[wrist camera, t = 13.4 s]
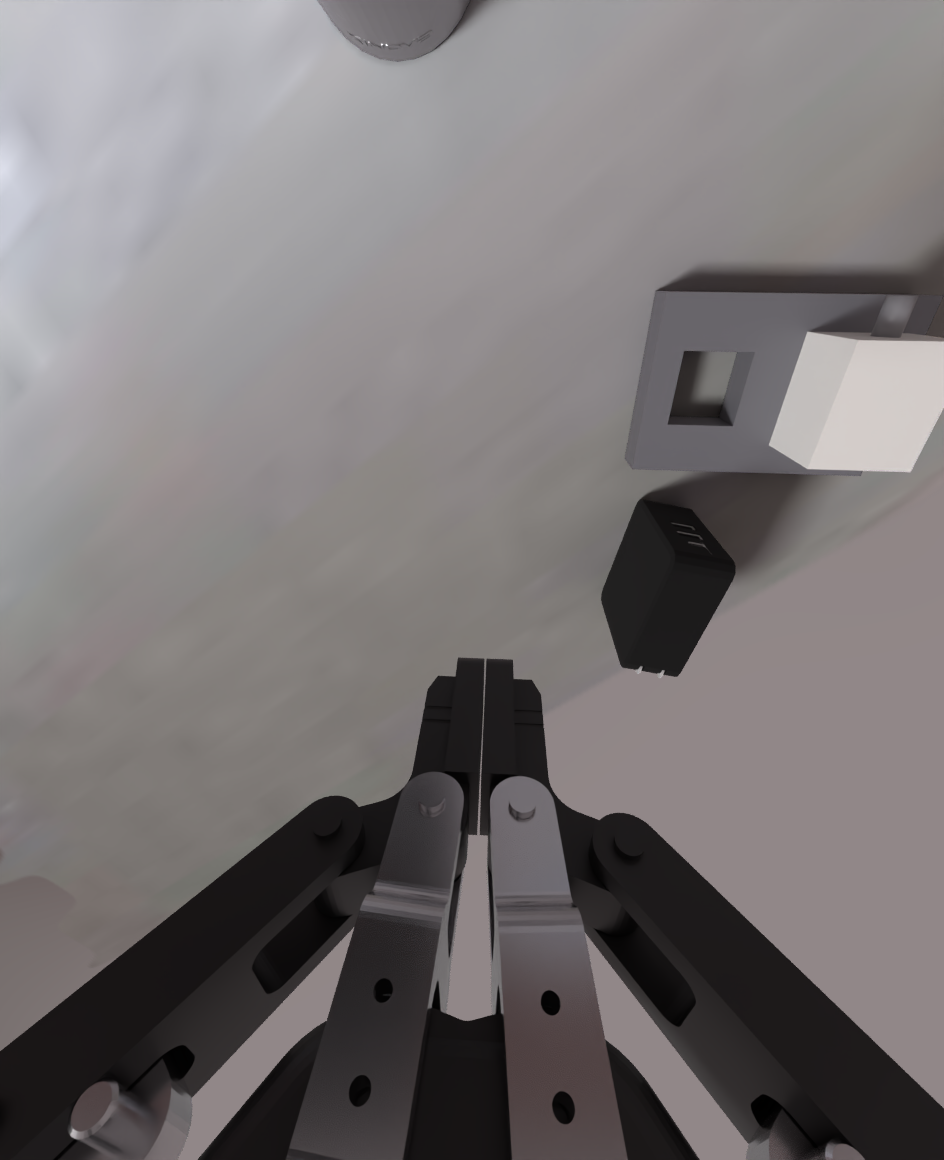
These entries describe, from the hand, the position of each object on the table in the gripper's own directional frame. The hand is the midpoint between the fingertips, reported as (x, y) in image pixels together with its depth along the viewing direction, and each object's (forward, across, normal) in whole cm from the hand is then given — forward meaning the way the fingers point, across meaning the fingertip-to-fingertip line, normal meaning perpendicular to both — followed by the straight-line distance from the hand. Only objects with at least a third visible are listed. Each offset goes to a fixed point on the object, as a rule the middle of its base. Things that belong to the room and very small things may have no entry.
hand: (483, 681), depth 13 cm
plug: (+26, -22, -3) cm, 34 cm away
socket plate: (+27, -18, -3) cm, 33 cm away
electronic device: (+27, -13, +10) cm, 32 cm away
